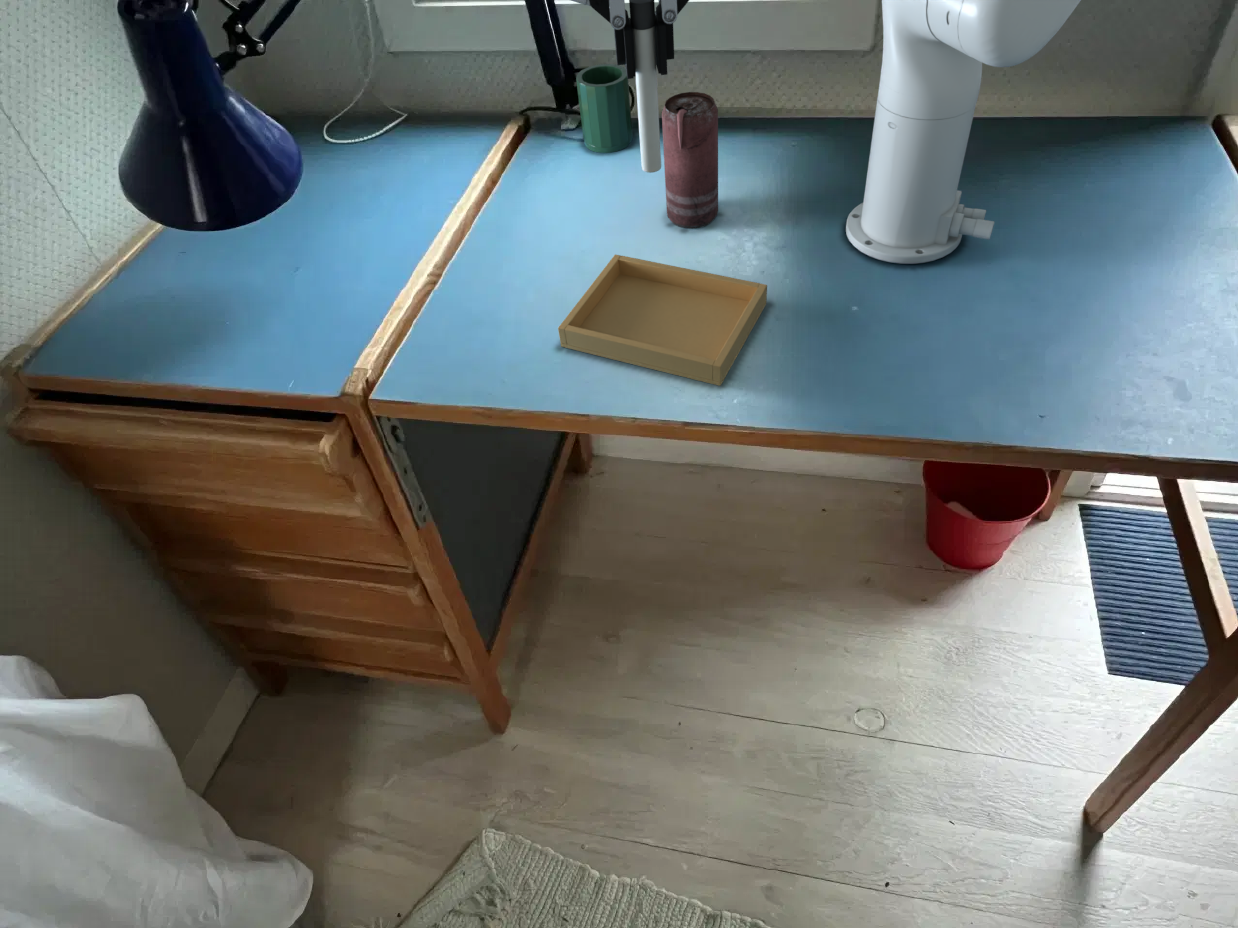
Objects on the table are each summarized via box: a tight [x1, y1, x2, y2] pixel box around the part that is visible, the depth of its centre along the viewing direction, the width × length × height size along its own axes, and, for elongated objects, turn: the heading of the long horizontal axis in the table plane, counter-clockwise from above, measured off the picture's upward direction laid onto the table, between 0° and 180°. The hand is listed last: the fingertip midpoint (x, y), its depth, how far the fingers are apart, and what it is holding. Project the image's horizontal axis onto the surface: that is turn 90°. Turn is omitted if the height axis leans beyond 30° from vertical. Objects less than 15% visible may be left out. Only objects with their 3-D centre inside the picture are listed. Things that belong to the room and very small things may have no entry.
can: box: [661, 91, 719, 230], centre depth 100 cm, size 6×6×14 cm
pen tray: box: [557, 253, 768, 387], centre depth 90 cm, size 18×14×2 cm
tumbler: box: [575, 63, 633, 154], centre depth 116 cm, size 7×7×9 cm
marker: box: [628, 0, 662, 174], centre depth 74 cm, size 2×2×14 cm
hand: (645, 68), depth 73 cm, fingers closed on marker, 2 cm apart
